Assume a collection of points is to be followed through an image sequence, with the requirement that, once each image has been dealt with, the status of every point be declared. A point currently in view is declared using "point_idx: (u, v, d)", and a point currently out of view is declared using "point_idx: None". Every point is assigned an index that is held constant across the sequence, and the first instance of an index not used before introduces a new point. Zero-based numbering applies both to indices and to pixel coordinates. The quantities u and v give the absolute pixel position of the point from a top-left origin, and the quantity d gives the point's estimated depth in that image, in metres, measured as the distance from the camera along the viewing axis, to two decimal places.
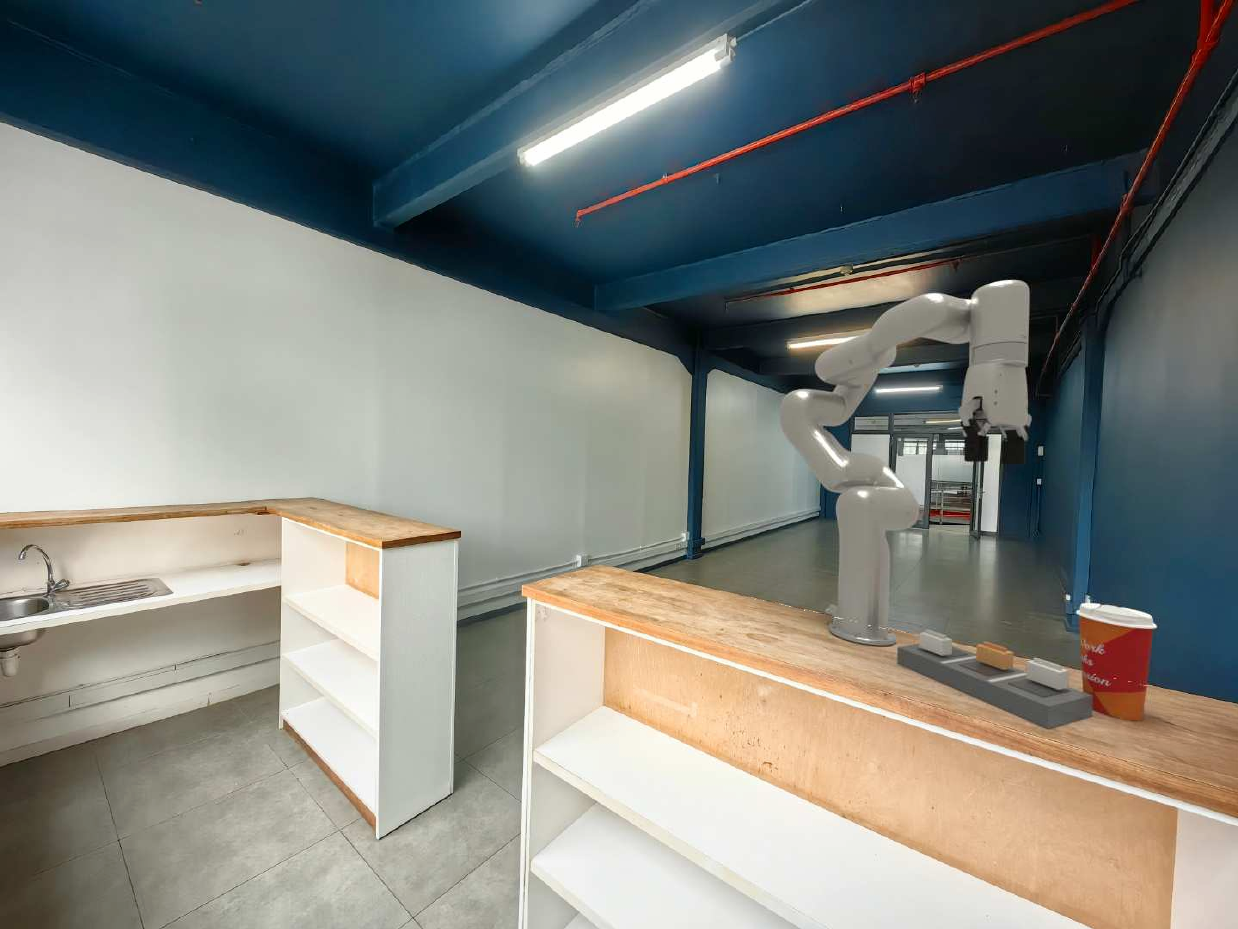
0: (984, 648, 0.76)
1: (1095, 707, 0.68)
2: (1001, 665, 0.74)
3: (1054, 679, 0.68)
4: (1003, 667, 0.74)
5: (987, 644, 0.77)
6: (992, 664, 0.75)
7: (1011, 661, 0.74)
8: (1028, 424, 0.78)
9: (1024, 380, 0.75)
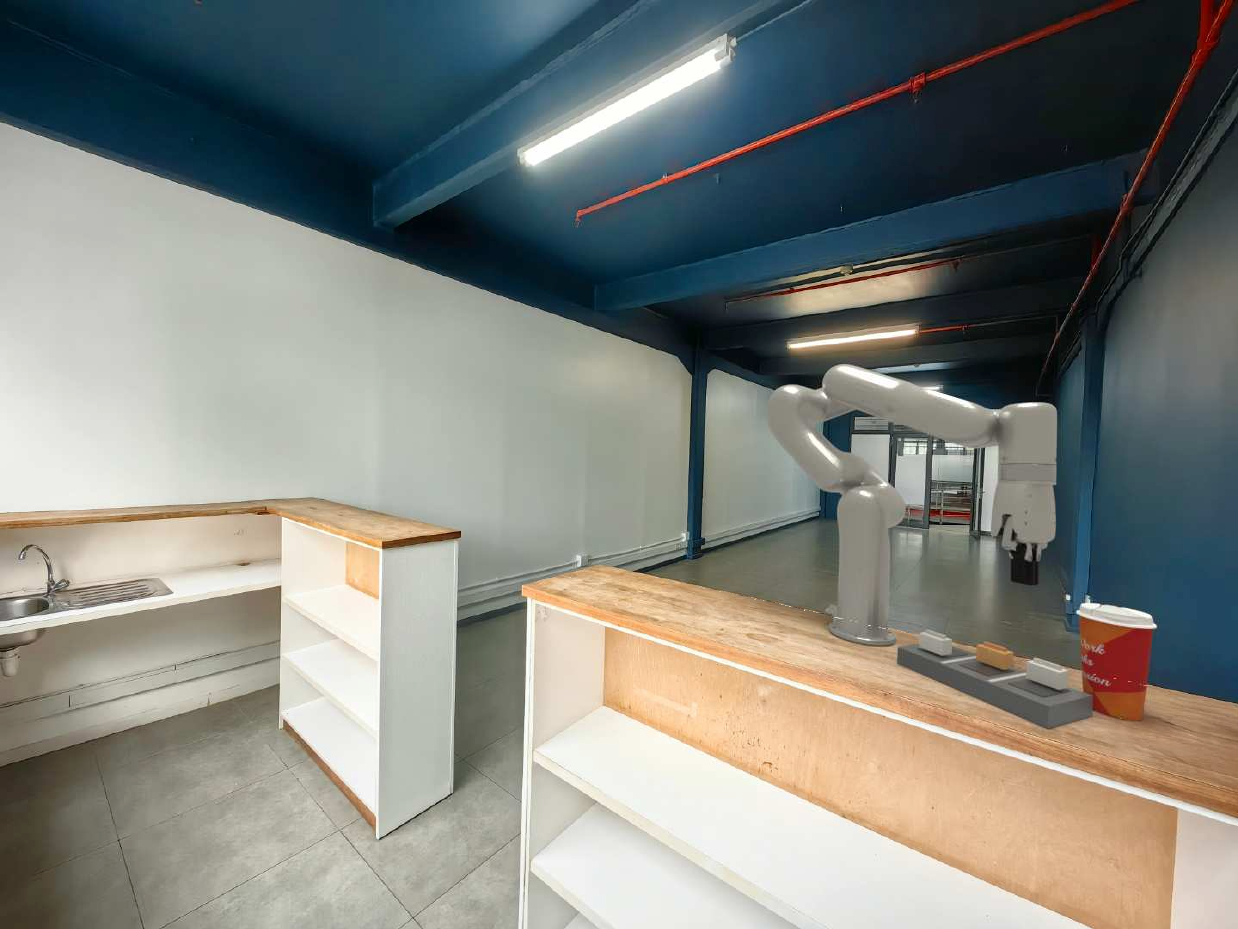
0: (984, 648, 0.76)
1: (1095, 707, 0.68)
2: (1001, 665, 0.74)
3: (1054, 679, 0.68)
4: (1003, 667, 0.74)
5: (987, 644, 0.77)
6: (992, 664, 0.75)
7: (1011, 661, 0.74)
8: (1042, 547, 0.79)
9: (1052, 497, 0.78)
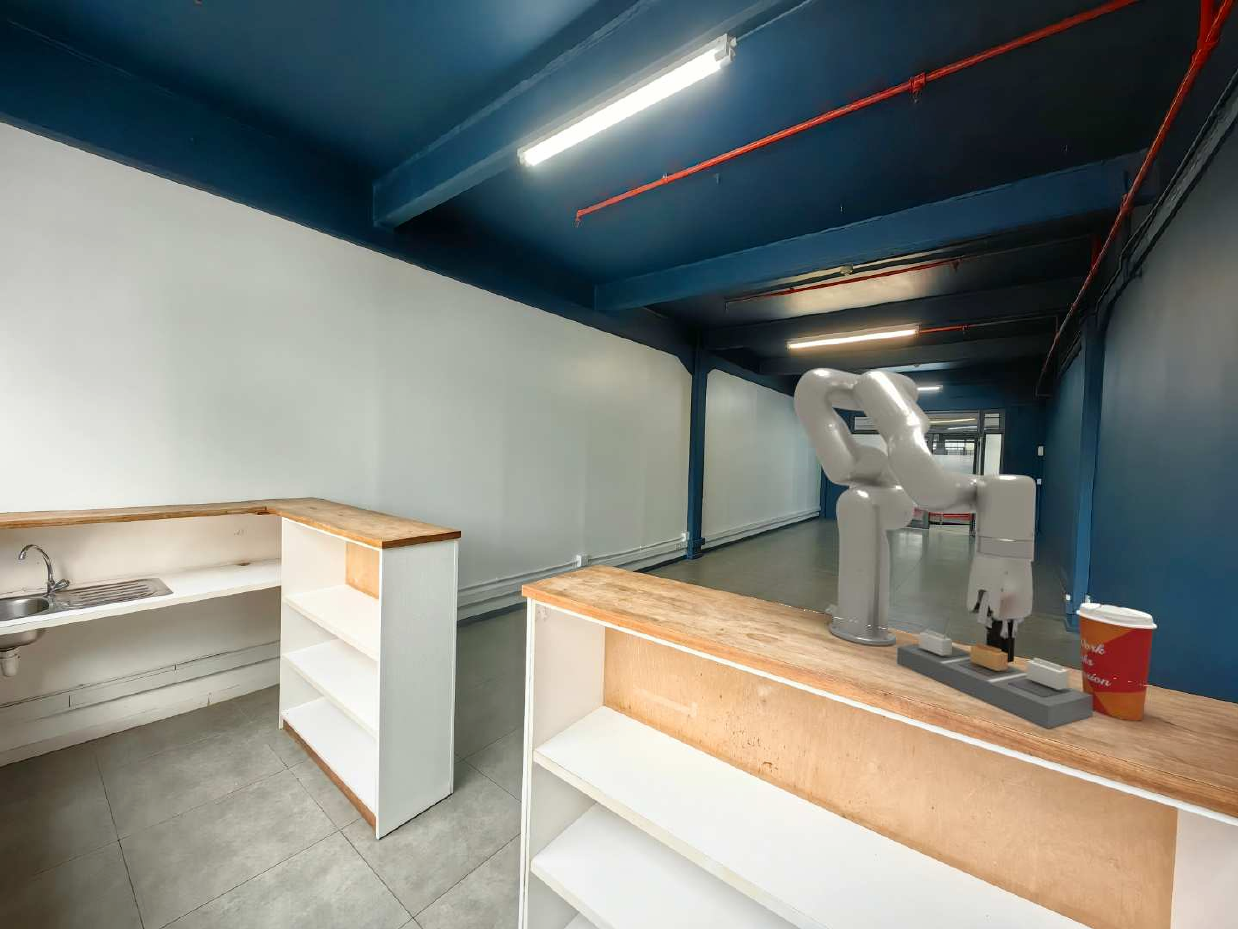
0: (978, 649, 0.76)
1: (1095, 707, 0.68)
2: (995, 666, 0.73)
3: (1054, 679, 0.68)
4: (997, 668, 0.73)
5: (981, 645, 0.76)
6: (986, 665, 0.74)
7: (1005, 662, 0.74)
8: (1018, 621, 0.77)
9: (1029, 571, 0.76)
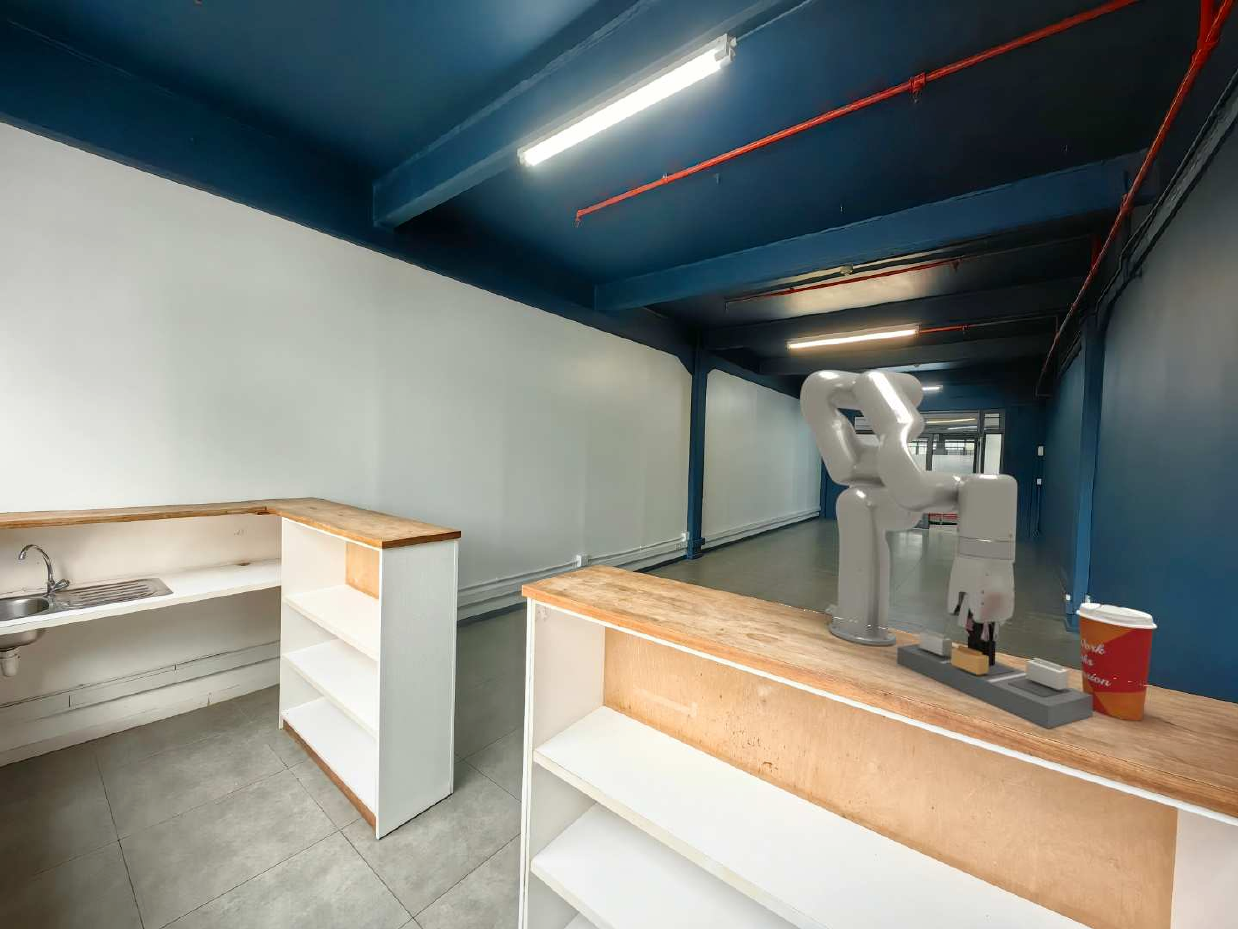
0: (959, 652, 0.74)
1: (1095, 707, 0.68)
2: (976, 670, 0.71)
3: (1054, 679, 0.68)
4: (978, 672, 0.71)
5: (962, 648, 0.74)
6: (967, 669, 0.73)
7: (986, 666, 0.72)
8: (1000, 624, 0.76)
9: (1011, 572, 0.74)
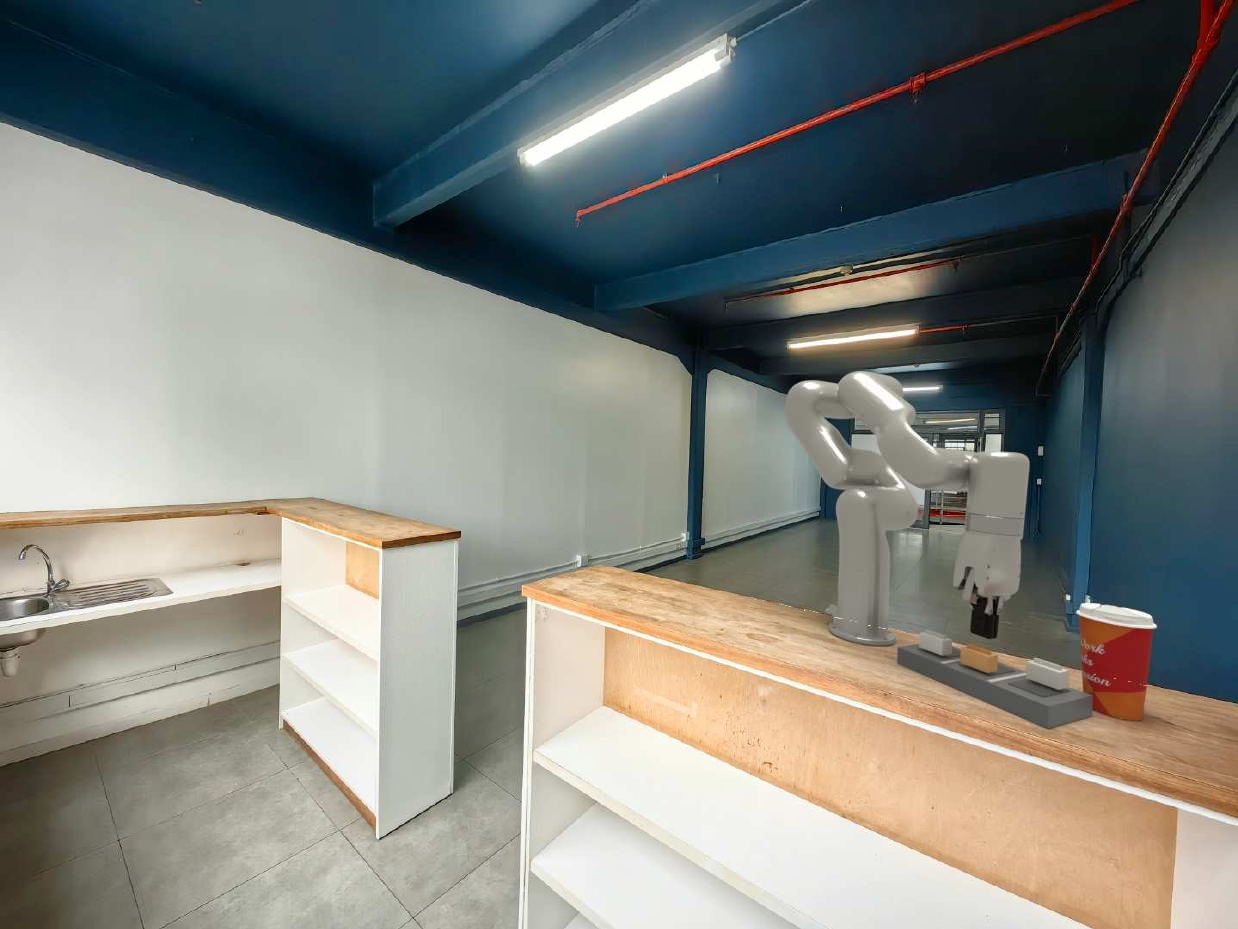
0: (968, 651, 0.75)
1: (1095, 707, 0.68)
2: (985, 668, 0.72)
3: (1054, 679, 0.68)
4: (987, 670, 0.72)
5: (971, 646, 0.75)
6: (976, 667, 0.73)
7: (995, 664, 0.73)
8: (1004, 599, 0.77)
9: (1018, 549, 0.75)
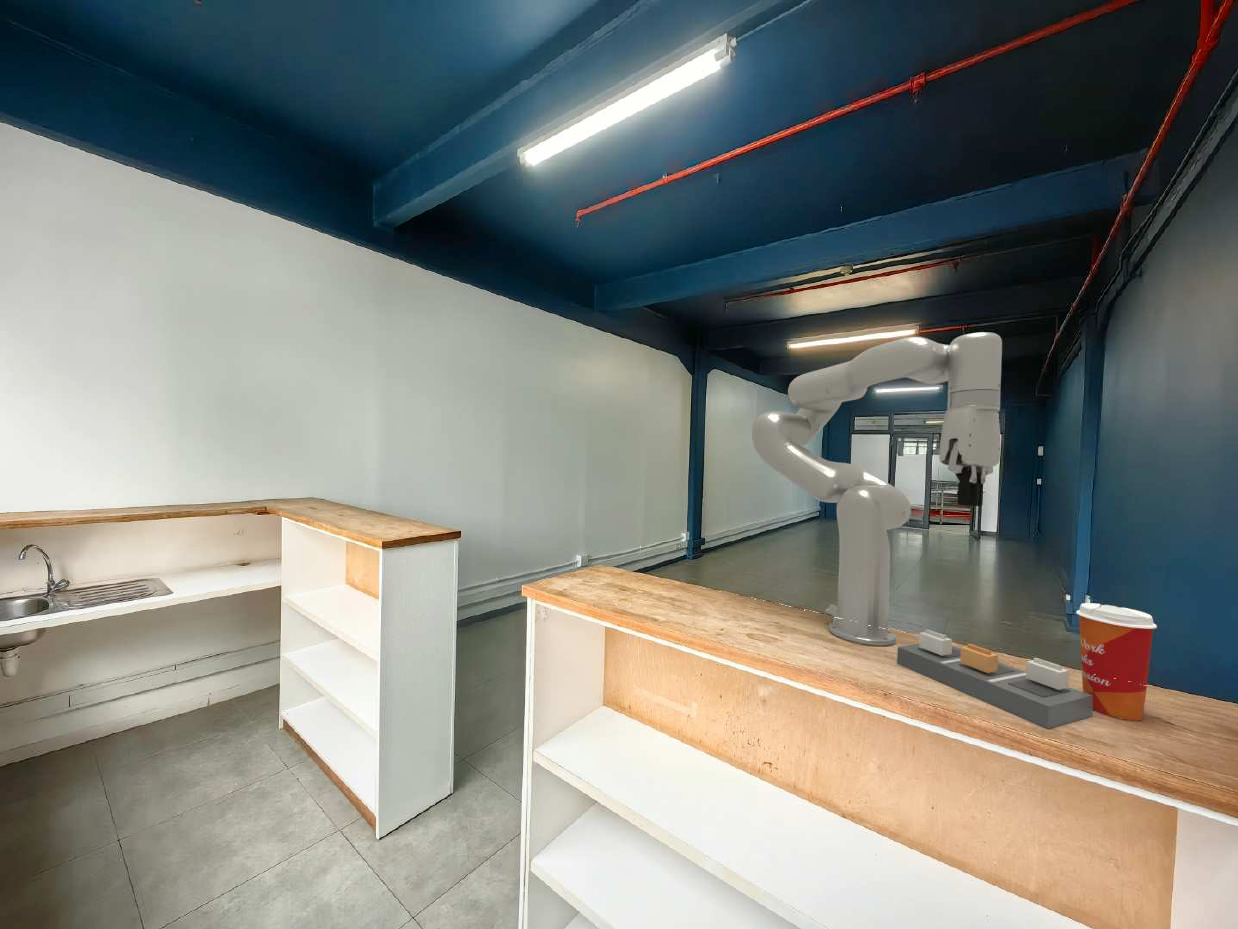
0: (968, 651, 0.75)
1: (1095, 707, 0.68)
2: (985, 668, 0.72)
3: (1054, 679, 0.68)
4: (987, 670, 0.72)
5: (971, 646, 0.75)
6: (976, 667, 0.73)
7: (995, 664, 0.73)
8: (987, 472, 0.84)
9: (997, 423, 0.82)
